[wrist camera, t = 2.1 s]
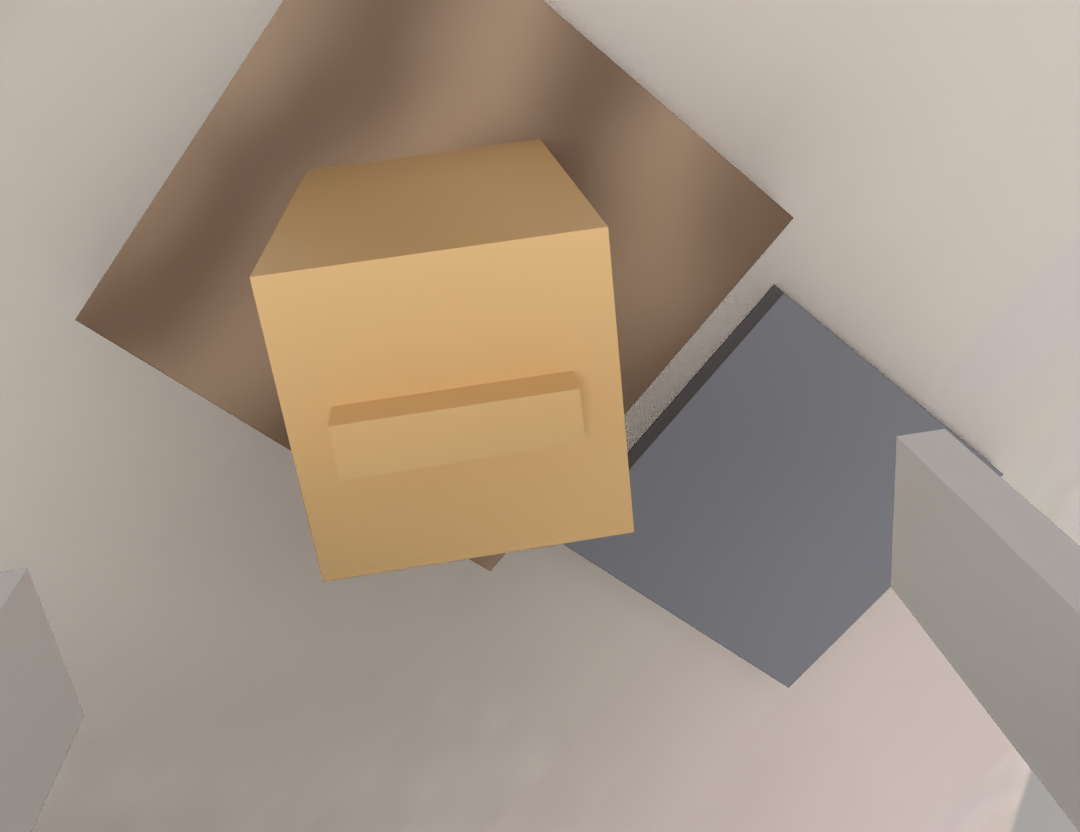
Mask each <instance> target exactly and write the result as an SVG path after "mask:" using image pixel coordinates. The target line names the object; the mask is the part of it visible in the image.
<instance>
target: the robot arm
mask: <svg viewBox="0 0 1080 832" xmlns="http://www.w3.org/2000/svg"><path fill="white" fill-rule="evenodd" d="M891 587H892V588H893V590H894V591H895V592H896V594H897V595H898V596H899V598H900V599H901V600H902V601H903V603H904V604H905V605H906V607H907V608H908V609H909V611H910V612H911V613H912V615H913V616H914V617H915V618H916V620H917V621H918V622H919V624H920V625H921V626H922V628H923V629H924V630H925V631H926V633H927V634H928V635H929V637H930V638H931V639H932V641H933V642H934V643H935V644H936V646H937V647H938V648H939V650H940V651H941V652H942V654H943V655H944V656H945V658H946V659H947V660H948V661H949V663H950V664H951V665H952V667H953V668H954V669H955V671H956V672H957V673H958V674H959V676H960V677H961V678H962V680H963V681H964V682H965V684H966V685H967V686H968V687H969V689H970V690H971V691H972V693H973V694H974V695H975V697H976V698H977V699H978V701H979V702H980V703H981V704H982V706H983V707H984V708H985V710H986V711H987V712H988V714H989V715H990V716H991V717H992V719H993V720H994V721H995V723H996V724H997V725H998V727H999V728H1000V729H1001V731H1002V732H1003V733H1004V734H1005V736H1006V737H1007V738H1008V740H1009V741H1010V742H1011V744H1012V745H1013V746H1014V747H1015V749H1016V750H1017V751H1018V753H1019V754H1020V755H1021V757H1022V758H1023V759H1024V760H1025V762H1026V763H1027V764H1028V766H1029V767H1030V768H1031V770H1032V771H1033V772H1034V774H1035V775H1036V776H1037V777H1038V779H1039V780H1040V781H1041V782H1042V784H1043V785H1044V786H1045V788H1046V789H1047V790H1048V792H1049V793H1050V794H1051V796H1052V797H1053V798H1054V800H1055V801H1056V802H1057V803H1058V805H1059V806H1060V807H1061V809H1062V810H1063V811H1064V812H1065V814H1066V815H1067V817H1068V818H1069V819H1070V820H1071V822H1072V823H1073V824H1074V826H1075V827H1076V828H1077V830H1078V831H1079V832H1080V546H1079V545H1078V544H1077V543H1076V542H1075V541H1073V540H1072V539H1071V538H1070V537H1069V536H1068V535H1067V534H1065V533H1064V532H1063V531H1062V530H1061V529H1060V528H1058V527H1057V526H1056V525H1055V524H1054V523H1053V522H1052V521H1050V520H1049V519H1048V518H1047V517H1046V516H1045V515H1044V514H1042V513H1041V512H1040V511H1039V510H1038V509H1037V508H1035V507H1034V506H1033V505H1032V504H1031V503H1030V502H1029V501H1027V500H1026V499H1025V498H1024V497H1023V496H1022V495H1021V494H1019V493H1018V492H1017V491H1016V490H1015V489H1014V488H1012V487H1011V486H1010V485H1009V484H1008V483H1007V482H1006V481H1004V480H1003V479H1002V478H1001V477H1000V476H999V475H998V474H996V473H995V472H994V471H993V470H992V469H991V468H989V467H988V466H987V465H986V464H985V463H984V462H983V461H981V460H980V459H979V458H978V457H977V456H976V455H975V454H973V453H972V452H971V451H970V450H969V449H968V448H966V447H965V446H964V445H963V444H962V443H961V442H960V441H958V440H957V439H956V438H955V437H954V436H953V435H952V434H950V433H949V432H948V431H947V430H946V429H940V430H934V431H927V432H921V433H914V434H907V435H901V436H897V441H896V465H895V490H894V514H893V539H892V563H891ZM83 716H84V714H83V712H82V709H81V706H80V704H79V701H78V699H77V696H76V693H75V691H74V688H73V686H72V683H71V680H70V678H69V675H68V673H67V670H66V667H65V665H64V662H63V660H62V657H61V654H60V652H59V649H58V647H57V644H56V641H55V639H54V636H53V634H52V631H51V628H50V626H49V623H48V621H47V618H46V615H45V613H44V610H43V608H42V605H41V602H40V600H39V597H38V595H37V592H36V589H35V587H34V584H33V582H32V579H31V576H30V574H29V571H28V569H27V568H26V569H20V570H13V571H6V572H0V832H31V831H32V829H33V827H34V825H35V822H36V820H37V818H38V816H39V814H40V811H41V809H42V807H43V805H44V803H45V800H46V798H47V796H48V794H49V791H50V789H51V787H52V785H53V783H54V780H55V778H56V776H57V774H58V772H59V769H60V767H61V765H62V763H63V760H64V758H65V756H66V754H67V752H68V749H69V747H70V745H71V743H72V741H73V738H74V736H75V734H76V732H77V729H78V727H79V725H80V723H81V721H82V718H83Z"/></svg>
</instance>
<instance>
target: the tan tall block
mask: <svg viewBox="0 0 1080 832" xmlns="http://www.w3.org/2000/svg"><path fill="white" fill-rule="evenodd" d="M250 281H251V285H252V289H253V294H254V298H255V302H256V306H257V310H258V314H259V318H260V323H261V327H262V331H263V335H264V339H265V343H266V347H267V352H268V356H269V360H270V364H271V368H272V372H273V376H274V381H275V385H276V389H277V393H278V397H279V401H280V405H281V410H282V414H283V418H284V422H285V426H286V430H287V434H288V439H289V443H290V447H291V451H292V455H293V459H294V463H295V468H296V472H297V476H298V480H299V484H300V488H301V492H302V497H303V501H304V505H305V509H306V513H307V517H308V521H309V526H310V530H311V534H312V538H313V542H314V546H315V550H316V555H317V559H318V563H319V567H320V571H321V575H322V579H323V582H325V581H332V580H338V579H344V578H350V577H357V576H363V575H369V574H376V573H382V572H388V571H394V570H401V569H407V568H413V567H419V566H426V565H432V564H438V563H444V562H451V561H457V560H463V559H469V558H476V557H482V556H488V555H495V554H501V553H507V552H513V551H520V550H526V549H532V548H538V547H545V546H551V545H557V544H563V543H570V542H576V541H582V540H589V539H595V538H601V537H607V536H614V535H620V534H626V533H632V532H634V524H633V512H632V501H631V489H630V477H629V466H628V454H627V442H626V430H625V419H624V407H623V395H622V384H621V372H620V360H619V348H618V337H617V325H616V313H615V302H614V290H613V278H612V267H611V255H610V243H609V231H608V226H607V225H606V223H605V222H604V221H603V220H602V218H601V217H600V216H599V214H598V213H597V212H596V210H595V209H594V208H593V207H592V205H591V204H590V203H589V201H588V200H587V199H586V198H585V196H584V195H583V194H582V192H581V191H580V190H579V189H578V187H577V186H576V185H575V183H574V182H573V181H572V180H571V178H570V177H569V176H568V174H567V173H566V172H565V170H564V169H563V168H562V167H561V165H560V164H559V163H558V161H557V160H556V159H555V158H554V156H553V155H552V154H551V152H550V151H549V150H548V149H547V147H546V146H545V145H544V143H543V142H542V141H541V140H540V139H536V140H528V141H521V142H514V143H506V144H499V145H491V146H484V147H476V148H469V149H462V150H454V151H447V152H439V153H432V154H425V155H417V156H410V157H402V158H395V159H387V160H380V161H373V162H365V163H358V164H350V165H343V166H336V167H328V168H321V169H313V170H307V171H306V173H305V175H304V177H303V179H302V180H301V182H300V184H299V186H298V188H297V190H296V192H295V193H294V195H293V197H292V199H291V201H290V203H289V205H288V207H287V208H286V210H285V212H284V214H283V216H282V218H281V220H280V221H279V223H278V225H277V227H276V229H275V231H274V233H273V234H272V236H271V238H270V240H269V242H268V244H267V246H266V248H265V249H264V251H263V253H262V255H261V257H260V259H259V261H258V262H257V264H256V266H255V268H254V270H253V272H252V274H251V275H250Z"/></svg>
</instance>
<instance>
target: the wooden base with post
mask: <svg viewBox="0 0 1080 832" xmlns="http://www.w3.org/2000/svg"><path fill="white" fill-rule="evenodd" d="M536 139H540V140H541V141H542V142H543V143H544V145H545V146H546V147H547V149H548V150H549V151H550V152H551V154H552V155H553V156H554V158H555V159H556V160H557V161H558V163H559V164H560V165H561V167H562V168H563V169H564V170H565V172H566V173H567V174H568V176H569V177H570V178H571V180H572V181H573V182H574V183H575V185H576V186H577V187H578V189H579V190H580V191H581V192H582V194H583V195H584V196H585V198H586V199H587V200H588V201H589V203H590V204H591V205H592V207H593V208H594V209H595V210H596V212H597V213H598V214H599V216H600V217H601V218H602V220H603V221H604V222H605V223H606V225H607V226H608V231H609V243H610V255H611V267H612V278H613V290H614V302H615V313H616V325H617V337H618V348H619V360H620V372H621V384H622V395H623V407H624V415H625V414H626V412H627V411H628V410H629V409H630V408H631V407H632V405H633V404H634V403H635V402H636V401H637V400H638V398H639V397H640V396H641V395H642V394H643V393H644V392H645V390H646V389H647V388H648V387H649V386H650V385H651V383H652V382H653V381H654V380H655V379H656V378H657V376H658V375H659V374H660V373H661V372H662V371H663V369H664V368H665V367H666V366H667V365H668V364H669V362H670V361H671V360H672V359H673V358H674V357H675V355H676V354H677V353H678V352H679V351H680V350H681V348H682V347H683V346H684V345H685V344H686V343H687V341H688V340H689V339H690V338H691V337H692V336H693V334H694V333H695V332H696V331H697V330H698V329H699V327H700V326H701V325H702V324H703V323H704V322H705V320H706V319H707V318H708V317H709V316H710V315H711V313H712V312H713V311H714V310H715V309H716V308H717V306H718V305H719V304H720V303H721V302H722V301H723V300H724V298H725V297H726V296H727V295H728V294H729V293H730V291H731V290H732V289H733V288H734V287H735V286H736V284H737V283H738V282H739V281H740V280H741V279H742V277H743V276H744V275H745V274H746V273H747V272H748V270H749V269H750V268H751V267H752V266H753V265H754V263H755V262H756V261H757V260H758V259H759V258H760V256H761V255H762V254H763V253H764V252H765V251H766V249H767V248H768V247H769V246H770V245H771V244H772V242H773V241H774V240H775V239H776V238H777V237H778V235H779V234H780V233H781V232H782V231H783V230H784V228H785V227H786V226H787V225H788V224H789V223H790V221H791V220H792V219H793V217H792V216H791V215H790V214H789V213H787V212H786V211H785V210H784V209H783V208H782V207H780V206H779V205H778V204H777V203H776V202H775V201H774V200H772V199H771V198H770V197H769V196H768V195H767V194H765V193H764V192H763V191H762V190H761V189H760V188H759V187H757V186H756V185H755V184H754V183H753V182H752V181H750V180H749V179H748V178H747V177H746V176H745V175H743V174H742V173H741V172H740V171H739V170H738V169H737V168H735V167H734V166H733V165H732V164H731V163H730V162H728V161H727V160H726V159H725V158H724V157H723V156H722V155H720V154H719V153H718V152H717V151H716V150H715V149H713V148H712V147H711V146H710V145H709V144H708V143H707V142H705V141H704V140H703V139H702V138H701V137H700V136H698V135H697V134H696V133H695V132H694V131H693V130H692V129H690V128H689V127H688V126H687V125H686V124H685V123H683V122H682V121H681V120H680V119H679V118H678V117H677V116H675V115H674V114H673V113H672V112H671V111H670V110H668V109H667V108H666V107H665V106H664V105H663V104H661V103H660V102H659V101H658V100H657V99H656V98H655V97H653V96H652V95H651V94H650V93H649V92H648V91H646V90H645V89H644V88H643V87H642V86H641V85H640V84H638V83H637V82H636V81H635V80H634V79H633V78H631V77H630V76H629V75H628V74H627V73H626V72H625V71H623V70H622V69H621V68H620V67H619V66H618V65H616V64H615V63H614V62H613V61H612V60H611V59H610V58H608V57H607V56H606V55H605V54H604V53H603V52H601V51H600V50H599V49H598V48H597V47H596V46H595V45H593V44H592V43H591V42H590V41H589V40H588V39H586V38H585V37H584V36H583V35H582V34H581V33H579V32H578V31H577V30H576V29H575V28H574V27H573V26H571V25H570V24H569V23H568V22H567V21H566V20H564V19H563V18H562V17H561V16H560V15H559V14H558V13H556V12H555V11H554V10H553V9H552V8H551V7H549V6H548V5H547V4H546V3H545V2H544V1H543V0H284V1H283V3H282V4H281V6H280V7H279V9H278V10H277V12H276V13H275V15H274V16H273V18H272V19H271V21H270V23H269V24H268V26H267V27H266V29H265V30H264V32H263V33H262V35H261V36H260V38H259V39H258V41H257V42H256V44H255V45H254V47H253V49H252V50H251V52H250V53H249V55H248V56H247V58H246V59H245V61H244V62H243V64H242V65H241V67H240V68H239V70H238V71H237V73H236V75H235V76H234V78H233V79H232V81H231V82H230V84H229V85H228V87H227V88H226V90H225V91H224V93H223V94H222V96H221V97H220V99H219V101H218V102H217V104H216V105H215V107H214V108H213V110H212V111H211V113H210V114H209V116H208V117H207V119H206V120H205V122H204V123H203V125H202V127H201V128H200V130H199V131H198V133H197V134H196V136H195V137H194V139H193V140H192V142H191V143H190V145H189V146H188V148H187V149H186V151H185V153H184V154H183V156H182V157H181V159H180V160H179V162H178V163H177V165H176V166H175V168H174V169H173V171H172V172H171V174H170V176H169V177H168V179H167V180H166V182H165V183H164V185H163V186H162V188H161V189H160V191H159V192H158V194H157V195H156V197H155V198H154V200H153V202H152V203H151V205H150V206H149V208H148V209H147V211H146V212H145V214H144V215H143V217H142V218H141V220H140V221H139V223H138V224H137V226H136V228H135V229H134V231H133V232H132V234H131V235H130V237H129V238H128V240H127V241H126V243H125V244H124V246H123V247H122V249H121V250H120V252H119V254H118V255H117V257H116V258H115V260H114V261H113V263H112V264H111V266H110V267H109V269H108V270H107V272H106V273H105V275H104V276H103V278H102V280H101V281H100V283H99V284H98V286H97V287H96V289H95V290H94V292H93V293H92V295H91V296H90V298H89V299H88V301H87V302H86V304H85V306H84V307H83V309H82V310H81V312H80V313H79V315H78V316H77V318H76V319H75V320H76V321H78V322H80V323H81V324H83V325H85V326H86V327H88V328H90V329H91V330H93V331H95V332H96V333H98V334H100V335H101V336H103V337H104V338H106V339H108V340H109V341H111V342H113V343H114V344H116V345H118V346H119V347H121V348H123V349H124V350H126V351H128V352H129V353H131V354H132V355H134V356H136V357H137V358H139V359H141V360H142V361H144V362H146V363H147V364H149V365H151V366H152V367H154V368H156V369H157V370H159V371H161V372H162V373H164V374H165V375H167V376H169V377H170V378H172V379H174V380H175V381H177V382H179V383H180V384H182V385H184V386H185V387H187V388H189V389H190V390H192V391H194V392H195V393H197V394H198V395H200V396H202V397H203V398H205V399H207V400H208V401H210V402H212V403H213V404H215V405H217V406H218V407H220V408H222V409H223V410H225V411H227V412H228V413H230V414H231V415H233V416H235V417H236V418H238V419H240V420H241V421H243V422H245V423H246V424H248V425H250V426H251V427H253V428H255V429H256V430H258V431H259V432H261V433H263V434H264V435H266V436H268V437H269V438H271V439H273V440H274V441H276V442H278V443H279V444H281V445H283V446H284V447H286V448H288V449H289V450H291V447H290V443H289V439H288V434H287V430H286V426H285V422H284V418H283V414H282V410H281V405H280V401H279V397H278V393H277V389H276V385H275V381H274V376H273V372H272V368H271V364H270V360H269V356H268V352H267V347H266V343H265V339H264V335H263V331H262V327H261V323H260V318H259V314H258V310H257V306H256V302H255V298H254V294H253V289H252V285H251V281H250V275H251V274H252V272H253V270H254V268H255V266H256V264H257V262H258V261H259V259H260V257H261V255H262V253H263V251H264V249H265V248H266V246H267V244H268V242H269V240H270V238H271V236H272V234H273V233H274V231H275V229H276V227H277V225H278V223H279V221H280V220H281V218H282V216H283V214H284V212H285V210H286V208H287V207H288V205H289V203H290V201H291V199H292V197H293V195H294V193H295V192H296V190H297V188H298V186H299V184H300V182H301V180H302V179H303V177H304V175H305V173H306V171H307V170H313V169H321V168H328V167H336V166H343V165H350V164H358V163H365V162H373V161H380V160H387V159H395V158H402V157H410V156H417V155H425V154H432V153H439V152H447V151H454V150H462V149H469V148H476V147H484V146H491V145H499V144H506V143H514V142H521V141H528V140H536ZM504 555H505V553H501V554H495V555H488V556H482V557H476V558H469V559H471V560H472V561H474V562H476V563H477V564H479V565H481V566H482V567H484V568H485V569H487V570H489V571H491V570H492V569H493V567H494V566H495V565H496V564H497V563H498V562H499V560H500V559H501V558H502V557H503V556H504Z"/></svg>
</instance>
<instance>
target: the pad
mask: <svg viewBox="0 0 1080 832" xmlns="http://www.w3.org/2000/svg"><path fill="white" fill-rule="evenodd" d="M940 429H946V430H947V431H948V432H949V433H950V434H952V435H953V436H954V437H955V438H956V439H957V440H958V441H960V442H961V443H962V444H963V445H964V446H965V447H966V448H968V449H969V450H970V451H971V452H972V453H973V454H975V455H976V456H977V457H978V458H979V459H980V460H981V461H983V462H984V463H985V464H986V465H987V466H988V467H989V468H991V469H992V470H993V471H994V472H995V473H996V474H998V475H999V476H1000V477H1001V476H1002V475H1003V474H1002V473H1001V472H1000V471H999V470H998V469H996V468H995V467H994V466H993V465H992V464H991V463H989V462H988V461H987V460H986V459H985V458H983V457H982V456H981V455H980V454H978V453H977V452H976V451H975V450H974V449H972V448H971V447H970V446H969V445H968V444H966V443H965V442H964V441H963V440H961V439H960V438H959V437H958V436H957V435H955V434H954V433H953V432H952V431H951V430H949V429H948V428H947V427H946V426H945V425H943V424H942V423H941V422H940V421H938V420H937V419H936V418H935V417H934V416H932V415H931V414H930V413H929V412H928V411H926V410H925V409H924V408H923V407H922V406H920V405H919V404H918V403H917V402H915V401H914V400H913V399H912V398H911V397H909V396H908V395H907V394H906V393H905V392H903V391H902V390H901V389H900V388H899V387H897V386H896V385H895V384H894V383H892V382H891V381H890V380H889V379H888V378H886V377H885V376H884V375H883V374H882V373H880V372H879V371H878V370H877V369H876V368H874V367H873V366H872V365H871V364H869V363H868V362H867V361H866V360H865V359H863V358H862V357H861V356H860V355H859V354H857V353H856V352H855V351H854V350H853V349H851V348H850V347H849V346H848V345H846V344H845V343H844V342H843V341H842V340H840V339H839V338H838V337H837V336H836V335H834V334H833V333H832V332H831V331H830V330H828V329H827V328H826V327H825V326H823V325H822V324H821V323H820V322H819V321H817V320H816V319H815V318H814V317H813V316H811V315H810V314H809V313H808V312H806V311H805V310H804V309H803V308H802V307H800V306H799V305H798V304H797V303H796V302H794V301H793V300H792V299H791V298H790V297H788V296H787V295H786V294H785V293H783V292H782V291H781V290H780V289H779V288H777V287H776V286H775V285H774V286H773V287H772V288H771V289H770V291H769V292H768V293H767V294H766V295H765V296H764V297H763V299H762V300H761V301H760V302H759V303H758V304H757V305H756V307H755V308H754V309H753V310H752V311H751V312H750V314H749V315H748V316H747V317H746V318H745V319H744V320H743V322H742V323H741V324H740V325H739V326H738V327H737V328H736V330H735V331H734V332H733V333H732V334H731V335H730V336H729V338H728V339H727V340H726V341H725V342H724V343H723V345H722V346H721V347H720V348H719V349H718V350H717V351H716V353H715V354H714V355H713V356H712V357H711V358H710V359H709V361H708V362H707V363H706V364H705V365H704V366H703V367H702V369H701V370H700V371H699V372H698V373H697V374H696V376H695V377H694V378H693V379H692V380H691V381H690V382H689V384H688V385H687V386H686V387H685V388H684V389H683V390H682V392H681V393H680V394H679V395H678V396H677V397H676V398H675V400H674V401H673V402H672V403H671V404H670V405H669V407H668V408H667V409H666V410H665V411H664V412H663V413H662V415H661V416H660V417H659V418H658V419H657V420H656V421H655V423H654V424H653V425H652V426H651V427H650V428H649V429H648V431H647V432H646V433H645V434H644V435H643V436H642V438H641V439H640V440H639V441H638V442H637V443H636V444H635V446H634V447H633V448H632V449H631V450H630V451H629V452H628V466H629V477H630V489H631V501H632V512H633V524H634V532H632V533H626V534H620V535H614V536H607V537H601V538H595V539H589V540H582V541H576V542H570V543H564V545H565V546H567V547H568V548H570V549H572V550H573V551H575V552H576V553H578V554H579V555H581V556H583V557H584V558H586V559H587V560H589V561H590V562H592V563H594V564H595V565H597V566H598V567H600V568H601V569H603V570H605V571H606V572H608V573H609V574H611V575H612V576H614V577H616V578H617V579H619V580H620V581H622V582H623V583H625V584H627V585H628V586H630V587H631V588H633V589H634V590H636V591H638V592H639V593H641V594H642V595H644V596H645V597H647V598H648V599H650V600H652V601H653V602H655V603H656V604H658V605H659V606H661V607H663V608H664V609H666V610H667V611H669V612H670V613H672V614H674V615H675V616H677V617H678V618H680V619H681V620H683V621H685V622H686V623H688V624H689V625H691V626H692V627H694V628H696V629H697V630H699V631H700V632H702V633H703V634H705V635H707V636H708V637H710V638H711V639H713V640H714V641H716V642H718V643H719V644H721V645H722V646H724V647H725V648H727V649H729V650H730V651H732V652H733V653H735V654H736V655H738V656H739V657H741V658H743V659H744V660H746V661H747V662H749V663H750V664H752V665H754V666H755V667H757V668H758V669H760V670H761V671H763V672H765V673H766V674H768V675H769V676H771V677H772V678H774V679H776V680H777V681H779V682H780V683H782V684H783V685H785V686H787V687H788V688H789V687H790V686H791V685H792V684H793V683H794V682H795V681H796V680H797V679H798V678H799V677H800V676H801V675H802V674H803V673H804V672H805V671H806V670H807V669H808V668H809V667H810V666H811V665H812V664H813V663H814V662H815V661H816V660H817V659H818V658H819V657H820V656H821V655H822V654H823V653H824V652H825V651H826V650H827V649H828V648H829V647H830V646H831V645H832V644H833V643H834V642H835V641H836V640H837V639H838V638H839V637H840V636H841V635H842V634H843V633H844V632H845V631H846V630H847V629H848V628H849V627H850V626H851V625H852V624H853V623H854V622H855V621H856V620H857V619H858V618H859V617H860V616H861V615H862V614H863V613H864V612H865V611H866V610H867V609H868V608H869V607H870V606H871V605H872V604H873V603H874V602H875V601H876V600H877V599H878V598H879V597H880V596H881V595H882V594H883V593H885V592H886V591H887V590H888V589H889V588H890V587H891V563H892V539H893V514H894V490H895V465H896V441H897V436H901V435H907V434H914V433H921V432H927V431H934V430H940Z"/></svg>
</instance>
